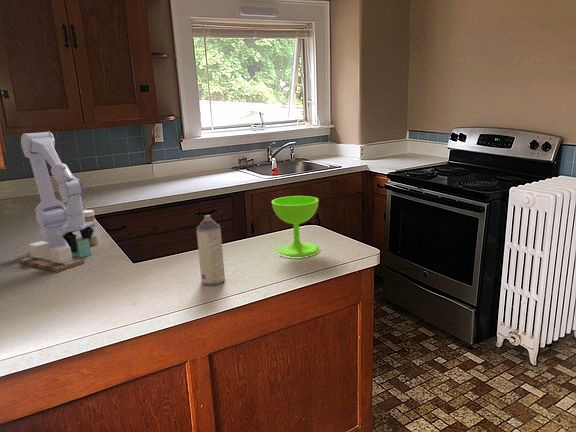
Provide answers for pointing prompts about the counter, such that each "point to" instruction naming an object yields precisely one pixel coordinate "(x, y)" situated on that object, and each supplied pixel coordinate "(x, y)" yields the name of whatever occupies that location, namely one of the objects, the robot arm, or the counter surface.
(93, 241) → the sprinkles bottle
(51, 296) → the counter surface
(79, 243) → the block
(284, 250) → the wineglass
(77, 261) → the rail board
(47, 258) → the rail
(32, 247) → the mounted modules
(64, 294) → the counter surface
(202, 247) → the aerosol can
